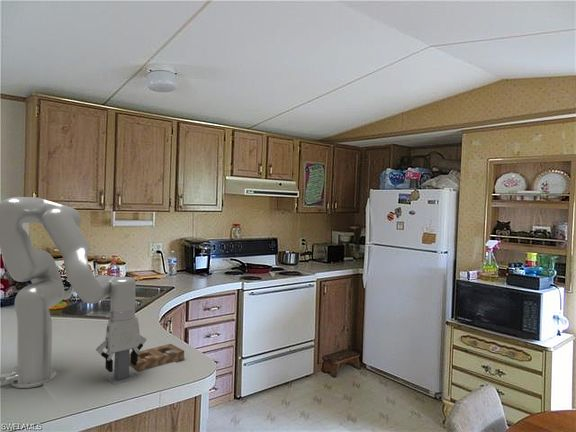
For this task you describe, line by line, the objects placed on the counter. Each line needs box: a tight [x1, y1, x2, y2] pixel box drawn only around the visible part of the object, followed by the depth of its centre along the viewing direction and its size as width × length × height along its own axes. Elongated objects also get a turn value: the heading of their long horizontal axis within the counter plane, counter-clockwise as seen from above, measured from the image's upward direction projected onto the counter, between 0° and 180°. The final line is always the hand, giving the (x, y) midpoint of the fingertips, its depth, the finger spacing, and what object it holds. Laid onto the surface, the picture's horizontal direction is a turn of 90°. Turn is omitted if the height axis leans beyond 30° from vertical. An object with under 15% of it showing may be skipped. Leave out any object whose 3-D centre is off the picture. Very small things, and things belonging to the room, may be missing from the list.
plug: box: [113, 349, 131, 381], centre depth 133 cm, size 4×4×11 cm
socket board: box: [129, 343, 185, 372], centre depth 148 cm, size 18×10×4 cm, turn 135°
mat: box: [104, 370, 139, 386], centre depth 133 cm, size 8×8×1 cm
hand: (121, 367), depth 133 cm, fingers open, 7 cm apart
